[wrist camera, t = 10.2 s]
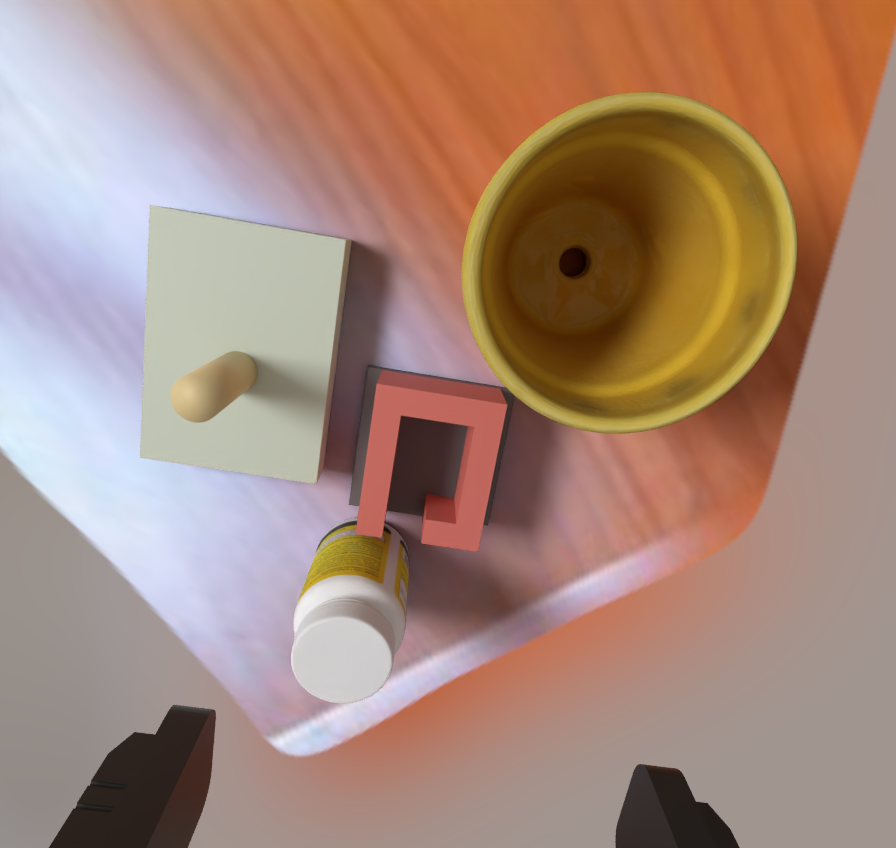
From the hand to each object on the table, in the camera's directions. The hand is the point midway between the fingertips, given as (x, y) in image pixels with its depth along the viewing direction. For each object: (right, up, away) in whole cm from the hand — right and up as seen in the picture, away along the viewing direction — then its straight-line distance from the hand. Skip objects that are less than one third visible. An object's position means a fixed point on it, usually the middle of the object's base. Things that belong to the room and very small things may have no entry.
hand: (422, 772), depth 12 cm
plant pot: (+6, +14, +17) cm, 23 cm away
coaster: (0, +5, +19) cm, 20 cm away
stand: (-9, +10, +18) cm, 22 cm away
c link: (0, +5, +19) cm, 20 cm away
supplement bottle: (-4, 0, +21) cm, 21 cm away
